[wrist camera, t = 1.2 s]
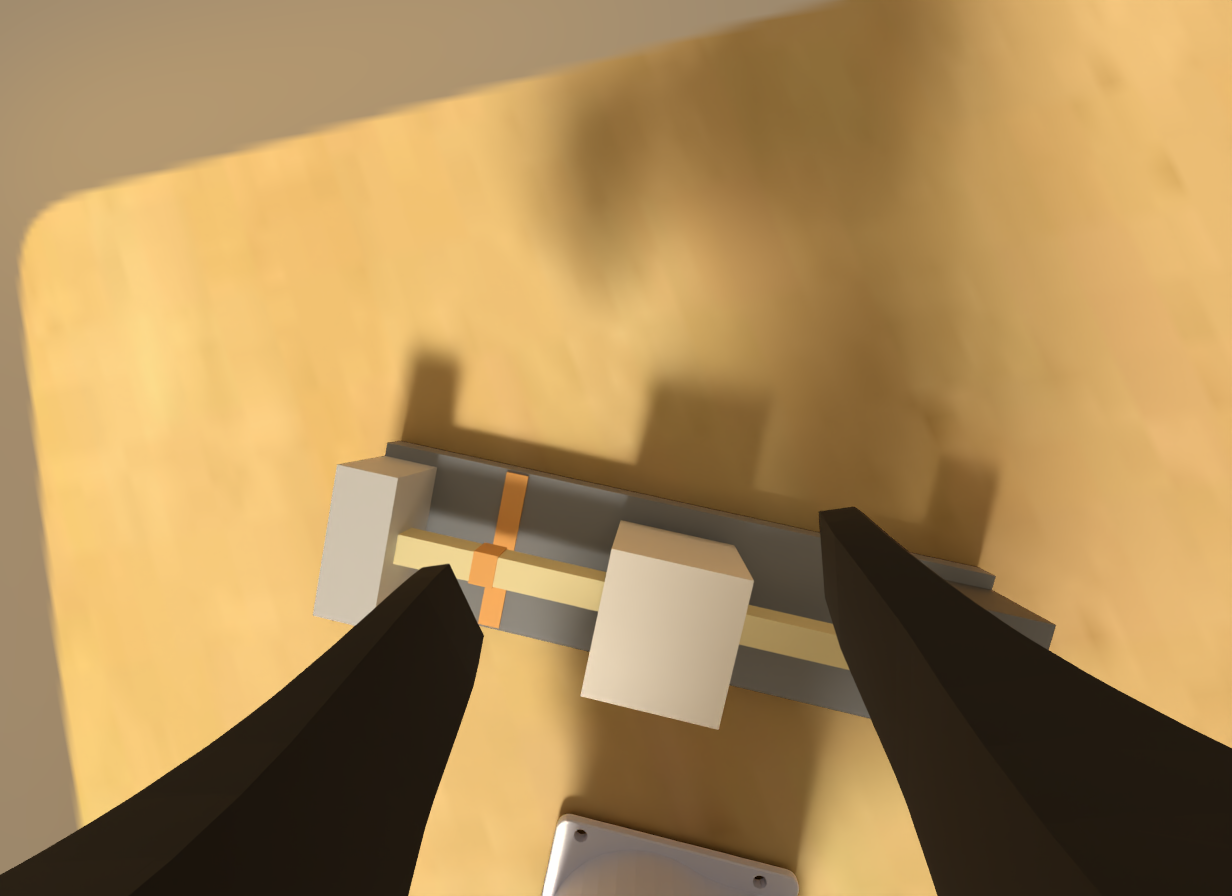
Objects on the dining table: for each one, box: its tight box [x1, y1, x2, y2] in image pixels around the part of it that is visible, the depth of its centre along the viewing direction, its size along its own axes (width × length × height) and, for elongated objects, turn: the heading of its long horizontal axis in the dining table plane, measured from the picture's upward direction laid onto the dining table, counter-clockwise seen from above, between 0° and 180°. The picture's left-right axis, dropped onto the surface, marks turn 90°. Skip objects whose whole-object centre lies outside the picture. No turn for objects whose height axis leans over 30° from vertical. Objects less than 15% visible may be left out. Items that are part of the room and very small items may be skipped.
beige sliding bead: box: [581, 520, 754, 730], centre depth 17 cm, size 4×4×4 cm
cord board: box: [313, 441, 1056, 719], centre depth 18 cm, size 22×6×4 cm, turn 78°
